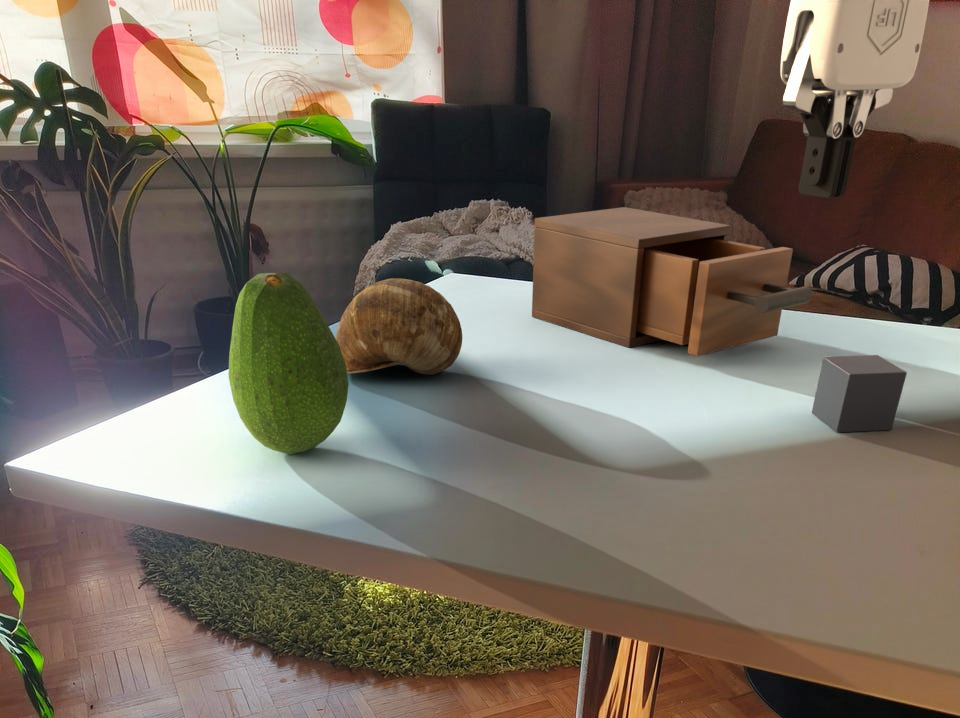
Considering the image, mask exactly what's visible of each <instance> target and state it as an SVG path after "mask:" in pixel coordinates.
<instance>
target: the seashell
mask: <svg viewBox="0 0 960 718" xmlns="http://www.w3.org/2000/svg"><path fill="white" fill-rule="evenodd" d="M335 339H336V340H337V342H338V344H339V346H340V349H341V352H342V355H343V358H344V360H345V363H346V368H347V374H359V373H366V372H371V371H377V370H380V369H385V368H389V367H393V366H394V367H395V366H398V365H402V366H406V367H407V368H408V369H410V370H411V371H413V372H415V373H417V374H420V375H425V376H432V375H436V374H439V373H441V372H443V371H446V370H447V369H449V368H450V367H451V366H452V365H453V364H454V363H455V362H456V360H457V359H458V357H459V355H460V353H461V349H462V345H463V329H462V325H461V322H460V319H459V316H458V314H457V312H456V311H455V309H454V307H453V305H452V304H451V302H449V301H448V300H447V298H446V297H445V296H443V295H442V294H441V293H440V292H438V291H437V290H435V289H434V288H433V287H431V286H430V285H427V284H425V283H423V282H420V281H416V280H412V279H406V278H392V277H391V278H386V279H383V280H379V281H376V282H374V283H372V284H370V285H368V286H366V288H364V289H363V290H361V291H360V292H359V293H358V294H357V295H355V297H354V298H353V299H352V300H351V302H350V303H348V305H347V307H346V308H345V310H344V312H343V313H342V316H341V318H340V320H339V323H338V325H337V329H336V336H335Z"/></svg>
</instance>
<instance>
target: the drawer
mask: <svg viewBox="0 0 960 718" xmlns="http://www.w3.org/2000/svg"><path fill="white" fill-rule="evenodd" d="M793 250H794V248H791V247H786V246H781V247H780V246H779V247H775V248H769V249H768V248H767V249H766V247H764V246H757V245H753V244H749V243H748V244H747V243H743V242H738V241H733V240H732V241H731V240H729V241H727V240H721V239H716V238H711V237H709V238H703V239H697V240H691V241H684V242H678V243H672V244H665V245H659V246H653V247H647V248H644V253H643V264H642V274H641V284H640V295H639V305H638V315H637V326H636V332H640V333H643V334H646V335H650V336H653V337H656V338H660V339H663V340H662V341H666V342H669V343H673V344H677V345H680V346H684V345H688V347H687V354H689V355H693V356H695V357H699V356H703V355H708V354H712V353H714V352H718V351H722V350H726V349H731V348H734V347H738V346H742V345H745V344H749V343H754V342H757V341H758V342H759V341H761V340H766V339H768V338H769V339H770V338H774V337H778V333H779V327H780V322H781V316H782V311H783V309H786V308H791V307H795V306H799V305H803V304H807V303H810V302H811V300H812V298H813V290H812V288H811V287H809V286H807V285H805V286H801V287H795V288H790V287H787V284H788V280H789V279H788V278H789V274H790V267H791V262H792V257H793V252H794V251H793Z"/></svg>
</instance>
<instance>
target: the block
mask: <svg viewBox="0 0 960 718" xmlns="http://www.w3.org/2000/svg"><path fill="white" fill-rule="evenodd" d="M907 374H908V372H907V371H906V370H904V369H902V368H901V367H899V366H897V365H896V364H894V363H892V362H891V361H889V360H888V359H885V358H883V357H882V356H880V355H879V354H869V355H867V354H866V355H865V354H864V355H839V356H835V355H834V356H823V358H822V362H821V366H820V371H819V377H818V380H817V385H816V390H815V394H814V399H813V404H812V408H811V414H813V415H814V416H815V417H816V418H817V419H819V420H820V421H821V422H823V423H824V425H826V426H828V427H829V428H830V429H831V430H833V431H834V432H835V433H855V432H875V431H876V432H877V431H892V429H893V426H894V423H895V418H896V415H897V412H898V409H899V408H898V407H899V405H900V404H899V403H900V399H901V397H902V393H903V388H904V386H905V381H906V378H907Z"/></svg>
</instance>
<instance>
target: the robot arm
mask: <svg viewBox="0 0 960 718" xmlns="http://www.w3.org/2000/svg"><path fill="white" fill-rule="evenodd" d="M929 5H930V0H790V3H789V8H788V12H787V18H786V24H785V30H784V34H783V35H784V36H783V42H782V48H781V56H780V71H779V72H780V78H781V81H782V82H783V84H784V85H786V88H785V90H784V94H783V96H782V105H783V107H784V108H786V109H788V110H791V111H794V112H796V113H799V115H800V116H801V119H802V121H803V125H802V133H803V135H804V137H807V139H806V146H805V151H804V158H803V163H802V168H801V174H800V181H799V184H798V192H799V194H800V195H803V196H810V197H816V198H824V199H831V198H840V197H843V196H844V195H845V194H846V189H847V185H848V181H849V175H850V170H851V165H852V159H853V157H854V155H853V154H854V151H855V145H856V140H857V138H859V137H861V135H862V134H863V132H864V131H865V126H866V123H867V119H868V117H869V116H870V115H871V113H873V111H874V110H877V109H879V108H882V107H884V106H886V105H888V104H890V103H891V102H892V99H893V96H894V89H899V88H902V87H904V86H905V85H907V84H908V83H910V81H911V80H912V79H913V78H914V76H915V74H916V70H917V66H918V63H919V58H920V54H921V49H922V44H923V39H924V34H925V29H926V24H927V18H928V12H929Z"/></svg>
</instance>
